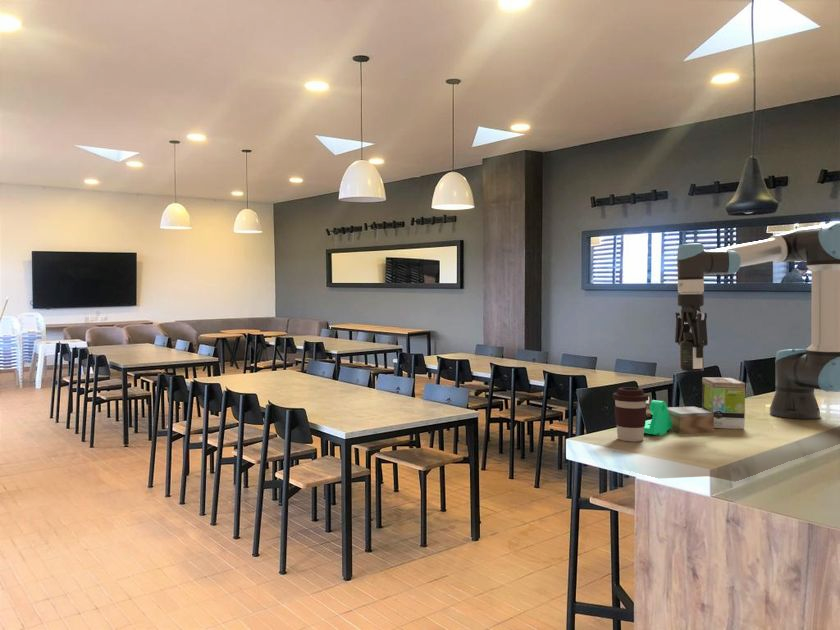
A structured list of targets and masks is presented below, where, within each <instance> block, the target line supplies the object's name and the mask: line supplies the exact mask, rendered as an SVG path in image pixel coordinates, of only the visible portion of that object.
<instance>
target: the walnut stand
mask: <svg viewBox="0 0 840 630" xmlns="http://www.w3.org/2000/svg"><path fill="white" fill-rule="evenodd" d="M667 408H668V412H669V415H670V418H671V422H672V429H670V430H671V431H674V432H676V433H678V434H693V433H694V434H696V433H699V434H700V433H714V431H715V428H714V412H710V411H707V410H704V409H702V407H696V406H672V407H671V406H667Z"/></svg>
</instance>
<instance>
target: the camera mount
mask: <svg viewBox="0 0 840 630" xmlns="http://www.w3.org/2000/svg"><path fill="white" fill-rule="evenodd" d="M667 407H668V406H667V403H666V401H664V400H655V399H652V400H651V401H650V404H649V413H650V414H651V415H652V418H651V420H646V421H645V427H644V434H649V435H654V436H662V435H665V434H668V430H671V429H672V422H671V418H670V415H669V412H668V408H667Z"/></svg>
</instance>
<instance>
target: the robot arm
mask: <svg viewBox="0 0 840 630" xmlns="http://www.w3.org/2000/svg"><path fill="white" fill-rule="evenodd" d="M676 256H677V257H676V260H677V261H676V262H677V264H676V267H677V284H676V285H677V293H679V294H678V295H677V305H678V307H681V309H680V311H676V312H675V336H674V342H675V343H676V344H678V346H680V342H681V341H683V340H684V338H683V332H692V335H693V340H694V346H693V369H702V368H703V347H707V346H708V344H709V343H708V332H707V331H708V330H707V317H708V314H707V312H702V311H701V307H703V306H704V304H705V302H704V301H705V295H704V294H703V293H704V291H705V279H704V278H705V276H706V275H707V276H712V275H713V276H714V275H727V276H728V275H731V274H732V275H734V274H737V272H738V271H739V270H740V268H741V267H748V266H753V265H759V264H765V263H768V262H774V263H776V264H779V263H787V262H805V263H806V264H805V266H806V268H807V269H808V270H810V272H811V330H810V331H811V334H810V335H811V338H810V339H811V344H810V345H809V346H808V347H807V348H794V349H792V348H791V349H781V350H780V349H779V350H777V352H776V354H775V361H774V362H775V363H774V364H775V366H774V367H775V372H774V373H775V375H774V376H775V392H774V395H773V398H772V401H771V403H770V407H769V415H772V416H775V417H780V418H785V419H798V420H812V419H819V418H820V417H821V410H820V408H819V404H818V401H817V399H816V395H815V390H820V391H823V392H833V393H840V223H839V222H834V223H832V222H831V223H830V222H829V223H824V224H816V225H811V226H804V227H799V228H796V229H792V230H789V231H786V232H782V233H779V234H774V235H771V236H770V237H769V238H767V239H762V240H758V241H752V242H745V243H741V244H735V245H730V246H726V247H725V246H724V247H719V248H714V249H708V250H707V249H705V247H704V244H702V243H683V244H679V246H678V247H677V255H676Z"/></svg>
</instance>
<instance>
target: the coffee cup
mask: <svg viewBox="0 0 840 630" xmlns="http://www.w3.org/2000/svg"><path fill="white" fill-rule="evenodd" d="M644 392H645V391H644V390H643V388H639V387H632V386H625V387H619V388H617V390H616V392H612V400H614V403H615V404H614V415H615V416H614V417H615V418H614V419H615V426H616V433H617V439H618V440H619V441H623V442H631V443H633V442H635V443H636V442H642V441H644V437H645V435H644V434H645V433H644V427H645V421H647V419H646V418H647V416H646V415H647V406H646V405H647V401H648V400H649V394H648V393H644Z"/></svg>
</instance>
